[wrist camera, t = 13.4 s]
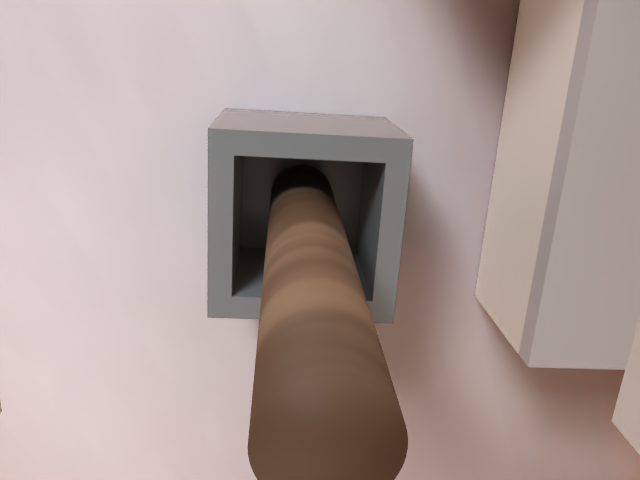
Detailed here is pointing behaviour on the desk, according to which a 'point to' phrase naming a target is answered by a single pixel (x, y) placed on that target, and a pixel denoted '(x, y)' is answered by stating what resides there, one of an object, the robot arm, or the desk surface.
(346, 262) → the brown wooden rod
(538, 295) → the white box
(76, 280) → the desk surface
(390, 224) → the pen cup
